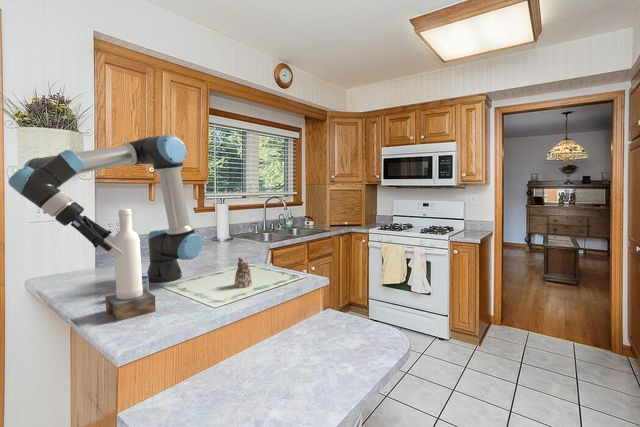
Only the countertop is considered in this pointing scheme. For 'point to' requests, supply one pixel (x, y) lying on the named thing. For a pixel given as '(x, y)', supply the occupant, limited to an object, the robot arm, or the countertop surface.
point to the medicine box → (145, 282)
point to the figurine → (243, 274)
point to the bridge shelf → (130, 306)
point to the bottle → (127, 259)
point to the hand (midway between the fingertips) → (121, 252)
